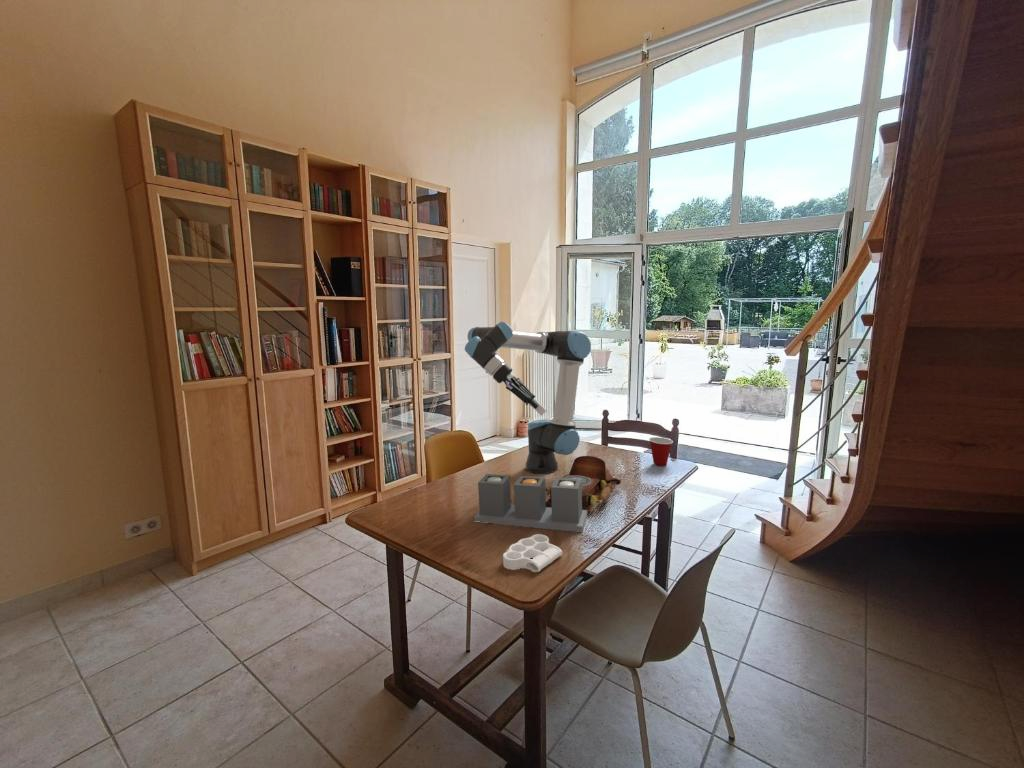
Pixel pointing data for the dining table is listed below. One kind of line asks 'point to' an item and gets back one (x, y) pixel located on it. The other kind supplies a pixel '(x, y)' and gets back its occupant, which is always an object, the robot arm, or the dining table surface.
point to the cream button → (566, 484)
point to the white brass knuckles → (531, 553)
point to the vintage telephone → (590, 480)
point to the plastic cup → (660, 450)
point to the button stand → (531, 504)
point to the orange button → (529, 481)
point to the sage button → (494, 479)
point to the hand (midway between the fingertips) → (544, 412)
